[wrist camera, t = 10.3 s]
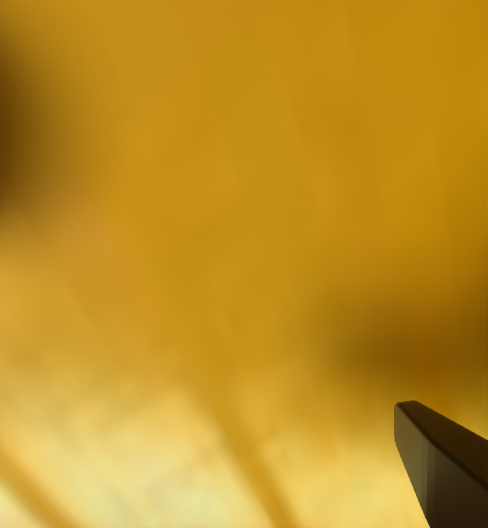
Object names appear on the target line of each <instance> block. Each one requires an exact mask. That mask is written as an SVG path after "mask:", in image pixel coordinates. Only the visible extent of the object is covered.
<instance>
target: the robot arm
mask: <svg viewBox="0 0 488 528" xmlns="http://www.w3.org/2000/svg"><path fill="white" fill-rule="evenodd" d="M394 436H395V442H396V446H397V449H398V451H399V454H400V456H401V459H402V461H403V464H404V466H405V469H406V471H407V474H408V476H409V479H410V481H411V483H412V486H413V488H414V491H415V493H416V496H417V498H418V501H419V503H420V506H421V508H422V511H423V513H424V515H425V518H426V520H427V522H428V524H429V526H430V528H488V440H486V439H485V438H483V437H481V436H479V435H477V434H476V433H474V432H472V431H470V430H468V429H466V428H465V427H463V426H461V425H459V424H457V423H456V422H454V421H452V420H450V419H448V418H447V417H445V416H443V415H441V414H439V413H437V412H436V411H434V410H432V409H430V408H428V407H427V406H425V405H423V404H421V403H419V402H417V401H414V400H412V401H404V402H398V403H397V404H396V405H395V408H394Z"/></svg>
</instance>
